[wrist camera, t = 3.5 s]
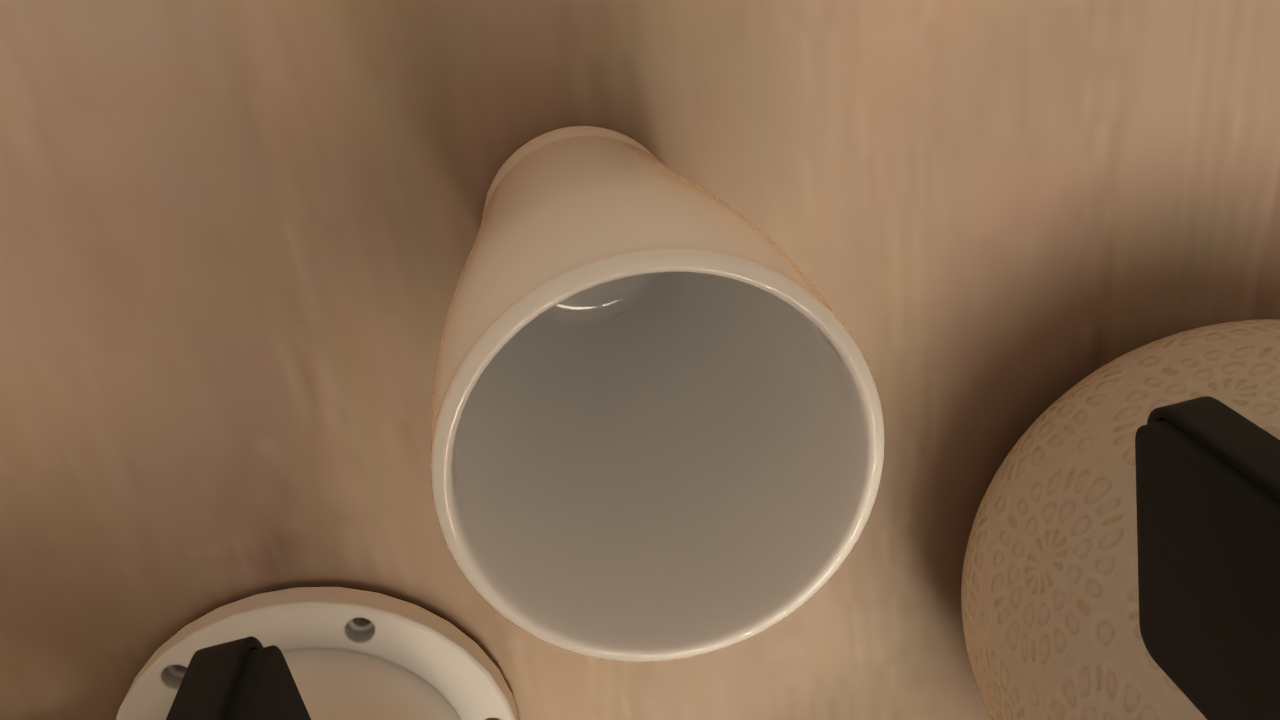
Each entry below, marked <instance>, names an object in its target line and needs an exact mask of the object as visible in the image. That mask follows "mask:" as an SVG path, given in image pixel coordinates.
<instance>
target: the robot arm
mask: <svg viewBox="0 0 1280 720" xmlns="http://www.w3.org/2000/svg"><path fill="white" fill-rule="evenodd" d="M1135 462H1136V504H1137V547H1138V589H1139V625H1140V632H1141V636H1142V639H1143V642H1144V644H1145V647H1146V649H1147V651H1148V652H1149V654H1150V656H1151V657H1152V659H1153V660H1154V661H1155V662H1156V664H1157V665H1158V666H1159V667H1160V668H1161V669H1162V670H1163V671H1164V672H1165V673H1166V675H1167V676H1168V677H1169V678H1170V679H1171V680H1172V681H1173V682H1174V683H1175V685H1176V686H1177V687H1178V688H1179V689H1180V690H1181V691H1182V692H1183V693H1184V694H1185V696H1186V697H1187V698H1188V699H1189V700H1190V701H1191V702H1192V703H1193V704H1194V706H1195V707H1196V708H1197V709H1198V710H1199V711H1200V712H1201V713H1202V714H1203V715H1204V717H1205V718H1206V719H1207V720H1280V440H1279V439H1277V438H1276V437H1274V436H1273V435H1271V434H1270V433H1268V432H1267V431H1265V430H1264V429H1262V428H1260V427H1259V426H1257V425H1256V424H1254V423H1253V422H1251V421H1250V420H1248V419H1247V418H1245V417H1244V416H1242V415H1240V414H1239V413H1237V412H1236V411H1234V410H1233V409H1231V408H1230V407H1228V406H1227V405H1225V404H1223V403H1222V402H1220V401H1219V400H1217V399H1215V398H1213V397H1210V396H1203V397H1198V398H1195V399H1191V400H1187V401H1183V402H1179V403H1175V404H1171V405H1167V406H1163V407H1159V408H1155V409H1154V410H1153V411H1152V412H1150V415H1149V417H1148V419H1147V425H1143V426H1141V427H1139V428H1138V429H1137V432H1136V435H1135ZM116 720H519V716H518V712H517V709H516V705H515V701H514V697H513V695H512V693H511V691H510V689H509V687H508V685H507V684H506V682H505V680H504V678H503V676H502V674H501V672H500V670H499V669H498V668H497V666H496V665H495V664H494V663H493V662H492V660H491V659H490V658H489V657H488V656H487V655H486V653H485V652H484V651H483V650H482V649H481V648H480V646H479V645H478V644H477V643H476V642H474V641H473V640H472V639H470V638H469V637H468V636H467V635H465V634H464V633H463V632H462V631H460V630H459V629H458V628H456V627H455V626H454V625H453V624H451V623H450V622H448V621H446V620H445V619H443V618H441V617H439V616H437V615H435V614H433V613H431V612H429V611H427V610H425V609H423V608H422V607H420V606H418V605H415V604H412V603H409V602H406V601H403V600H400V599H397V598H394V597H390V596H387V595H384V594H381V593H377V592H370V591H363V590H357V589H350V588H343V587H296V588H290V589H284V590H278V591H272V592H266V593H260V594H256V595H253V596H250V597H247V598H244V599H241V600H238V601H235V602H232V603H230V604H227V605H224V606H221V607H218V608H216V609H215V610H213V611H211V612H209V613H207V614H206V615H204V616H202V617H200V618H198V619H197V620H195V621H193V622H191V623H189V624H188V625H186V626H184V627H183V628H182V629H181V630H180V631H178V632H177V633H176V634H175V635H174V636H172V637H171V638H170V639H169V640H168V641H166V642H165V643H164V644H163V645H162V646H160V647H159V648H158V649H157V650H156V651H155V652H154V654H153V655H152V656H151V658H150V659H149V660H148V661H147V663H146V664H145V665H144V666H143V668H142V669H141V670H140V672H139V673H138V674H137V675H136V677H135V679H134V681H133V683H132V685H131V687H130V689H129V691H128V693H127V695H126V697H125V698H124V700H123V702H122V704H121V706H120V708H119V711H118V714H117V717H116Z"/></svg>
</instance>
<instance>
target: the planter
mask: <svg viewBox="0 0 1280 720" xmlns="http://www.w3.org/2000/svg"><path fill="white" fill-rule="evenodd" d="M1203 396H1210V397H1213V398H1215V399H1217V400H1219V401H1220V402H1222V403H1223V404H1225V405H1227V406H1228V407H1230V408H1231V409H1233V410H1234V411H1236V412H1237V413H1239V414H1240V415H1242V416H1244V417H1245V418H1247V419H1248V420H1250V421H1251V422H1253V423H1254V424H1256V425H1257V426H1259V427H1260V428H1262V429H1264V430H1265V431H1267V432H1268V433H1270V434H1271V435H1273V436H1274V437H1276V438H1277V439H1279V440H1280V319H1259V320H1245V321H1235V322H1227V323H1220V324H1214V325H1208V326H1204V327H1199V328H1195V329H1191V330H1187V331H1184V332H1180V333H1177V334H1174V335H1171V336H1168V337H1165V338H1162V339H1159V340H1156V341H1154V342H1151V343H1149V344H1146V345H1144V346H1141V347H1139V348H1137V349H1135V350H1132V351H1130V352H1128V353H1126V354H1124V355H1122V356H1120V357H1118V358H1116V359H1115V360H1113V361H1111V362H1109V363H1107V364H1106V365H1104V366H1102V367H1101V368H1099V369H1098V370H1096V371H1094V372H1093V373H1091V374H1090V375H1088V376H1087V377H1086V378H1084V379H1083V380H1081V381H1080V382H1079V383H1077V384H1076V385H1075V386H1073V387H1072V388H1071V389H1069V390H1068V391H1067V392H1066V393H1064V394H1063V395H1062V396H1061V397H1060V398H1058V399H1057V400H1056V401H1055V402H1054V403H1053V404H1052V405H1051V406H1050V407H1049V408H1047V409H1046V410H1045V411H1044V412H1043V413H1042V414H1041V415H1040V416H1039V417H1038V418H1037V420H1036V421H1035V422H1034V423H1033V424H1032V425H1031V426H1030V427H1029V428H1028V429H1027V431H1026V432H1025V433H1024V434H1023V435H1022V436H1021V438H1020V439H1019V440H1018V441H1017V443H1016V444H1015V445H1014V447H1013V448H1012V449H1011V451H1010V452H1009V454H1008V455H1007V456H1006V458H1005V459H1004V461H1003V462H1002V464H1001V465H1000V467H999V469H998V470H997V472H996V474H995V475H994V477H993V479H992V481H991V483H990V485H989V487H988V488H987V491H986V493H985V495H984V497H983V499H982V501H981V504H980V506H979V509H978V511H977V514H976V517H975V520H974V523H973V526H972V529H971V533H970V536H969V540H968V544H967V548H966V553H965V559H964V565H963V573H962V590H961V609H962V621H963V629H964V636H965V642H966V648H967V652H968V656H969V660H970V664H971V667H972V670H973V674H974V677H975V680H976V683H977V685H978V688H979V690H980V693H981V695H982V698H983V700H984V702H985V705H986V707H987V710H988V712H989V714H990V717H991V719H992V720H1207V719H1206V718H1205V717H1204V715H1203V714H1202V713H1201V712H1200V711H1199V710H1198V709H1197V708H1196V707H1195V706H1194V704H1193V703H1192V702H1191V701H1190V700H1189V699H1188V698H1187V697H1186V696H1185V694H1184V693H1183V692H1182V691H1181V690H1180V689H1179V688H1178V687H1177V686H1176V685H1175V683H1174V682H1173V681H1172V680H1171V679H1170V678H1169V677H1168V676H1167V675H1166V673H1165V672H1164V671H1163V670H1162V669H1161V668H1160V667H1159V666H1158V665H1157V664H1156V662H1155V661H1154V660H1153V659H1152V657H1151V656H1150V654H1149V652H1148V651H1147V649H1146V647H1145V644H1144V642H1143V639H1142V636H1141V632H1140V625H1139V589H1138V547H1137V504H1136V462H1135V435H1136V432H1137V429H1138V428H1139V427H1141V426H1143V425H1147V419H1148V417H1149V415H1150V412H1152V411H1153V410H1154V409H1155V408H1159V407H1163V406H1167V405H1171V404H1175V403H1179V402H1183V401H1187V400H1191V399H1195V398H1198V397H1203Z"/></svg>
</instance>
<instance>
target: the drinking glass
mask: <svg viewBox="0 0 1280 720" xmlns="http://www.w3.org/2000/svg"><path fill="white" fill-rule="evenodd" d="M884 446H885V435H884V419H883V414H882V408H881V402H880V397H879V394H878V391H877V387H876V384H875V380H874V378H873V375H872V373H871V370H870V368H869V366H868V363H867V361H866V359H865V357H864V355H863V354H862V352H861V350H860V348H859V346H858V344H857V343H856V341H855V340H854V338H853V337H852V336H851V334H850V333H849V331H848V330H847V329H846V327H845V326H844V325H843V323H842V322H841V321H840V320H839V319H838V317H837V316H836V315H835V313H834V312H833V310H832V309H831V308H830V306H829V305H828V303H827V302H826V301H825V299H824V298H823V297H822V295H821V294H820V293H819V291H818V290H817V289H816V288H815V286H814V285H813V284H812V283H811V282H810V280H809V279H808V278H807V277H806V276H805V275H804V273H803V272H802V271H801V270H800V269H799V268H798V267H797V266H796V264H795V263H794V262H793V261H792V260H791V259H790V258H789V257H788V256H787V255H786V253H785V252H784V251H783V250H782V249H780V248H779V247H778V246H777V245H776V244H775V243H774V242H773V241H772V240H771V239H770V238H769V237H768V236H767V235H765V234H764V233H763V232H762V231H761V230H760V229H759V228H758V227H756V226H755V225H754V224H753V223H752V222H750V221H749V220H748V219H746V218H745V217H744V216H742V215H741V214H740V213H738V212H737V211H736V210H734V209H733V208H731V207H730V206H729V205H727V204H726V203H724V202H723V201H721V200H720V199H718V198H716V197H715V196H713V195H711V194H710V193H708V192H707V191H705V190H703V189H702V188H700V187H698V186H697V185H695V184H694V183H692V182H690V181H689V180H687V179H685V178H684V177H682V176H681V175H679V174H677V173H676V172H674V171H673V170H671V169H670V168H668V167H667V166H665V165H663V164H662V163H661V162H660V161H659V160H658V159H657V158H656V157H655V156H654V155H653V154H652V153H651V152H650V151H649V150H648V149H647V148H645V147H644V146H643V145H641V144H640V143H638V142H637V141H635V140H633V139H632V138H630V137H628V136H626V135H624V134H621V133H619V132H616V131H613V130H610V129H606V128H601V127H594V126H571V127H565V128H560V129H556V130H552V131H549V132H547V133H544V134H542V135H540V136H538V137H536V138H534V139H532V140H530V141H529V142H527V143H526V144H524V145H523V146H522V147H520V148H519V149H518V150H516V151H515V152H514V153H513V154H512V155H511V156H510V157H509V158H508V159H507V161H506V162H505V163H504V164H503V165H502V167H501V168H500V170H499V171H498V173H497V174H496V176H495V178H494V180H493V181H492V184H491V186H490V188H489V191H488V193H487V197H486V200H485V204H484V209H483V216H482V223H481V225H480V228H479V231H478V233H477V236H476V239H475V241H474V244H473V246H472V249H471V251H470V254H469V256H468V259H467V261H466V264H465V266H464V268H463V271H462V273H461V276H460V278H459V281H458V283H457V286H456V288H455V291H454V294H453V297H452V300H451V303H450V306H449V309H448V313H447V316H446V319H445V323H444V326H443V331H442V335H441V340H440V345H439V350H438V355H437V361H436V367H435V376H434V386H433V397H432V411H431V486H432V494H433V501H434V507H435V511H436V515H437V519H438V523H439V526H440V529H441V531H442V534H443V537H444V539H445V542H446V544H447V546H448V548H449V550H450V552H451V554H452V556H453V558H454V560H455V562H456V564H457V565H458V567H459V568H460V570H461V571H462V573H463V574H464V576H465V577H466V579H467V580H468V581H469V582H470V584H471V585H472V586H473V587H474V589H475V590H476V591H477V592H478V593H479V595H480V596H481V597H482V598H483V599H484V600H486V601H487V602H488V603H489V604H490V605H491V606H492V607H493V608H494V609H495V610H496V611H497V612H499V613H500V614H501V615H502V616H504V617H505V618H506V619H507V620H509V621H510V622H512V623H513V624H515V625H516V626H518V627H519V628H521V629H522V630H524V631H525V632H527V633H529V634H531V635H533V636H535V637H537V638H539V639H541V640H542V641H545V642H547V643H550V644H552V645H554V646H557V647H559V648H562V649H565V650H568V651H572V652H575V653H578V654H581V655H586V656H591V657H595V658H600V659H607V660H615V661H627V662H657V661H668V660H676V659H684V658H689V657H693V656H698V655H703V654H706V653H710V652H713V651H717V650H720V649H723V648H726V647H729V646H731V645H734V644H737V643H739V642H742V641H744V640H746V639H748V638H750V637H752V636H754V635H757V634H759V633H761V632H762V631H764V630H766V629H768V628H769V627H771V626H773V625H775V624H776V623H778V622H779V621H781V620H782V619H784V618H785V617H787V616H788V615H790V614H791V613H793V612H794V611H795V610H797V609H798V608H799V607H800V606H801V605H803V604H804V603H805V602H806V601H808V600H809V599H810V598H811V597H812V596H813V595H814V594H815V593H816V592H817V591H818V590H819V589H820V588H821V587H822V586H824V585H825V584H826V582H827V581H828V580H829V579H830V578H831V577H832V575H833V574H834V573H835V572H836V571H837V570H838V569H839V567H840V566H841V564H842V563H843V562H844V560H845V559H846V558H847V556H848V555H849V553H850V552H851V550H852V549H853V547H854V545H855V544H856V542H857V540H858V539H859V537H860V535H861V533H862V531H863V529H864V527H865V525H866V523H867V521H868V518H869V516H870V513H871V511H872V508H873V505H874V502H875V500H876V496H877V492H878V488H879V485H880V481H881V475H882V469H883V462H884Z"/></svg>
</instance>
